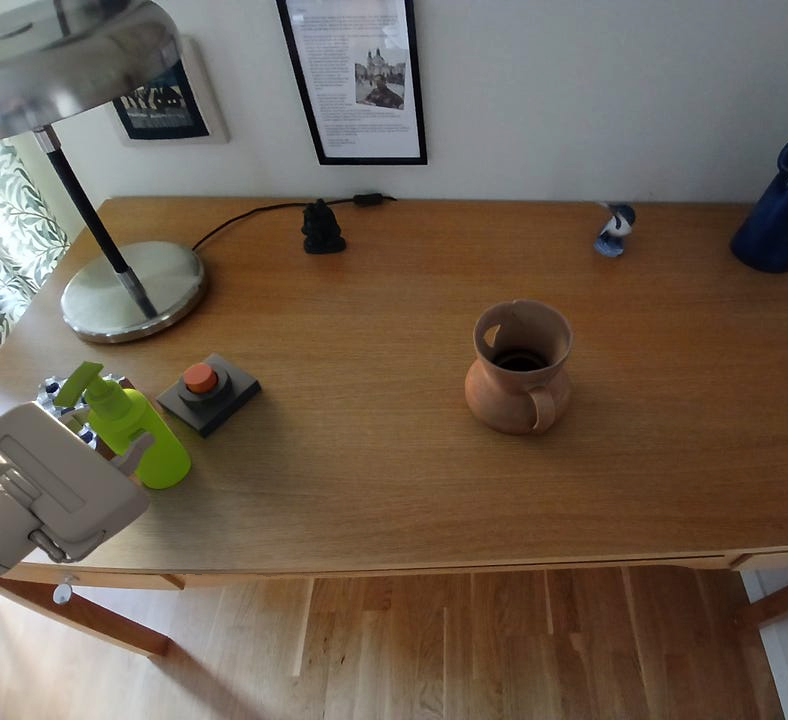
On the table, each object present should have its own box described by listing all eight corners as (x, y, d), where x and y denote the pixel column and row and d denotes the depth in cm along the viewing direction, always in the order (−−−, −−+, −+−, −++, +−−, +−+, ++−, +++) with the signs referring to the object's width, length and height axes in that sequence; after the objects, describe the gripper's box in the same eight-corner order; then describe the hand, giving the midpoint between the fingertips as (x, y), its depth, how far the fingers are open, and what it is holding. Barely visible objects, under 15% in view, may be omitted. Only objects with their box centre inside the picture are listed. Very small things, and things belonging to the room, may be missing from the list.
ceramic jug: (452, 365, 82) (449, 295, 71) (545, 347, 85) (556, 277, 74) (483, 471, 71) (485, 408, 60) (589, 447, 73) (610, 382, 63)
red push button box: (205, 439, 74) (193, 422, 71) (161, 408, 77) (148, 390, 74) (262, 389, 79) (253, 371, 76) (219, 361, 82) (209, 343, 79)
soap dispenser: (127, 492, 69) (29, 398, 53) (157, 444, 73) (75, 345, 57) (172, 500, 68) (86, 408, 53) (199, 451, 72) (127, 353, 57)
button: (201, 398, 74) (195, 388, 72) (183, 385, 75) (177, 376, 73) (222, 380, 75) (217, 370, 74) (205, 368, 77) (199, 359, 75)
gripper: (45, 561, 49) (177, 448, 57) (-69, 449, 56) (61, 361, 64) (83, 584, 54) (200, 477, 61) (-26, 478, 61) (90, 393, 68)
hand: (129, 417), depth 63 cm, fingers closed on soap dispenser, 6 cm apart
